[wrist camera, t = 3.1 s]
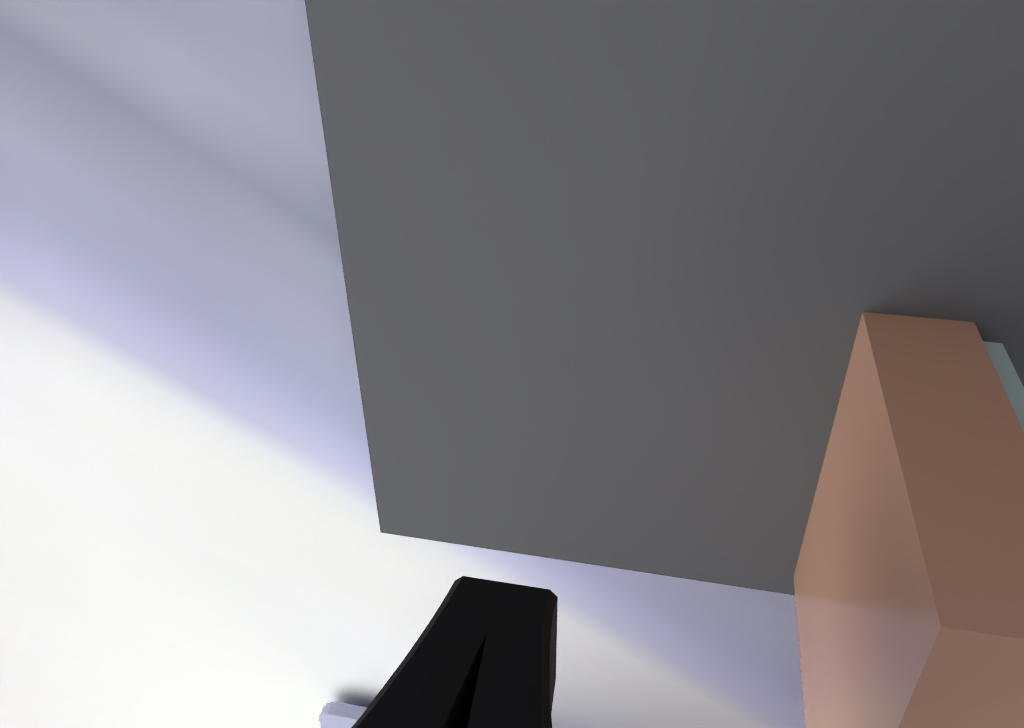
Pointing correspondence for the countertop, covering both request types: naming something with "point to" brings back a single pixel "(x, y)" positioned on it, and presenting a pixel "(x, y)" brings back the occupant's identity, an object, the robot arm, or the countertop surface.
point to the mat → (653, 252)
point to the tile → (917, 537)
